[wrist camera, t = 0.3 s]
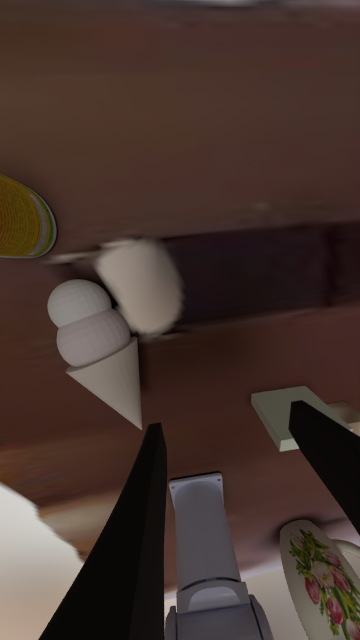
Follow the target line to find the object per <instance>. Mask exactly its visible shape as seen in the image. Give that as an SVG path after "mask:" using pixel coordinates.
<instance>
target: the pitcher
mask: <svg viewBox="0 0 360 640" xmlns="http://www.w3.org/2000/svg"><path fill="white" fill-rule="evenodd" d="M342 552H347V553H351V554H353V555H355V556H357V557H359V558H360V547H359V546H357V545H355V544H353V543H351V542H348V541H344V540H337V539H330V538H328V537H327V536H326V534H325V533H323V532H322V531H321V530H320V529H319V528H318V527H317V526H315V525H314V524H313V523H312V522H311V521H308V520H297V521H293V522H290V523H288V524H287V525H285V526H284V527H283V528H282V529H281V531H280V553H281V559H282V565H283V569H284V574H285V578H286V581H287V584H288V588H289V591H290V594H291V597H292V600H293V603H294V606H295V608H296V611H297V613H298V616H299V619H300V621H301V623H302V626H303V628H304V630H305V632H306V634H307V636H308V638H309V640H360V579H359V577H358V576H357V574H356V573H355V571H354V570H353V568H352V567H351V565H350V564H349V563H348V561H347V560H346V559H345V557H344V556H343V555H342Z"/></svg>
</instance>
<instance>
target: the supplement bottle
mask: <svg viewBox="0 0 360 640" xmlns="http://www.w3.org/2000/svg"><path fill="white" fill-rule="evenodd" d="M56 232H57V231H56V223H55V219H54V216H53V214H52V212H51V210H50V208H49V207H48V205H47V204H46V203H45V201H44V200H43V199H42V198H41V197H40V196H39V195H38V194H37V193H35V192H34V191H33V190H31V189H29V188H28V187H26V186H24V185H23V184H21V183H19V182H17V181H15V180H13V179H11V178H9V177H7V176H5V175H3V174H1V173H0V258H35V257H39V256H42V255H44V254H45V253H47V252H48V251H49V250H50V249H51V248H52V246H53V244H54V242H55V239H56Z"/></svg>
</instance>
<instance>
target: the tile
mask: <svg viewBox="0 0 360 640" xmlns="http://www.w3.org/2000/svg"><path fill="white" fill-rule="evenodd" d="M299 400H303V401H305V402H306V403H308V404H309V405H311V406H313V407H314V408H316V409H317V410H319V411H320V412H322V413H323V414H325V415H326V416H328V417H330V418H331V419H333V420H334V421H336V422H337V423H339V424H341V425H342V426H344V427H345V428H347V429H348V430H350V431H353V428H351V427H350V426H349V425H348V424H347V423H346V422H345V421H344V420H343V419H341V418H340V417H339V416H338V415H337V414H336V413H335V412H334V411H333V410H332V409H330V408H329V407H328V406H327V405H326V404H325V403H324V402H323V401H322V400H320V399H319V398H318V397H317V396H316V395H315V394H314V393H313V392H312V391H311V390H309V389H308V388H307V387H306V386H300V387H293V388H286V389H280V390H273V391H267V392H260V393H253V394H251V403H252V405H253V407H254V409H255V410H256V412H257V414H258V415H259V417H260V419H261V420H262V422H263V424H264V425H265V427H266V429H267V431H268V432H269V434H270V436H271V437H272V439H273V441H274V442H275V444H276V446H277V447H278V449H279V451H286V450H293V449H299V447H298V445H297V444H296V442H295V440H294V438H293V437H292V435H291V433H290V431H289V430H288V427H289V417H290V408H291V402H292V401H299Z"/></svg>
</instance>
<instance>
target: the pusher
mask: <svg viewBox="0 0 360 640" xmlns="http://www.w3.org/2000/svg"><path fill="white" fill-rule="evenodd" d="M326 405H327V406H328V407H329V408H330V409H332V410H333V411H334V412H335V413H336V414H337V415H338V416H339V417H340V418H341V419H343V420H344V421H345V422H346V423H347V424H348V425H349V426H350V427H351V428H353V431H352V432H353V433H355V434H356V435H358V436H360V413H359V412H357V411H356V410H355V409H354V408H352V407H351V406H350V405H348V404H347V403H346V402H339V403H332V404H326Z"/></svg>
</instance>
